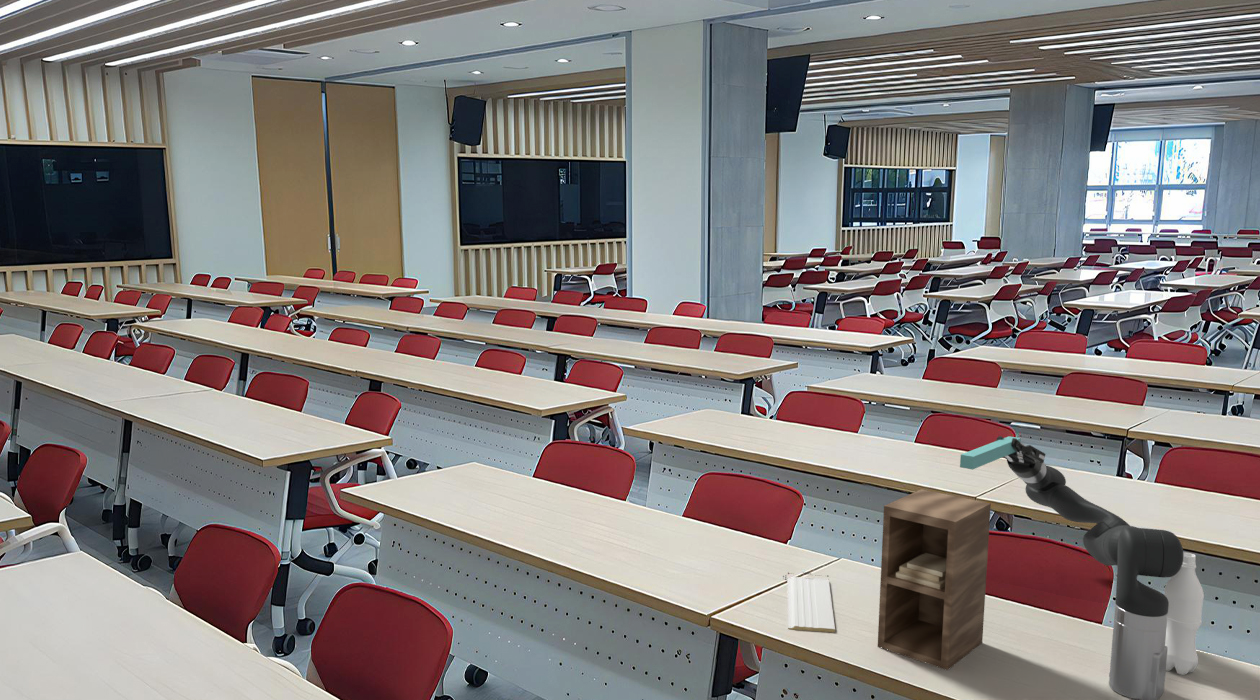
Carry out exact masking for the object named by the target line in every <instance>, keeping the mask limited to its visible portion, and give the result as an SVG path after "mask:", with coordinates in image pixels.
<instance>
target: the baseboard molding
mask: <svg viewBox="0 0 1260 700" xmlns="http://www.w3.org/2000/svg"><path fill="white" fill-rule="evenodd" d="M789 574H790V575H791V574H793V573H790V572H787V574H785V576H784V575H783V576H782V577H783V578H782V579H783V580H787V581H786V583H787V589H786V590H787V630H795V631H796V630H797V631H808V632H810V631H811V632H822V633H823V632H824V633H835V632H836V627H835V619H834V611H833V603H832V596H831V587H830V586H831V585H830V581H829V575H826V578H823V577H821V578H819V577H820V576H821V575H819V574H818V575H816V576H819V577H809V576H808V577H804V576H801V577H800V576H794V575H793V576H792V577H787V575H789ZM802 575H806V576H807V575H812V572H802ZM784 578H785V579H784Z"/></svg>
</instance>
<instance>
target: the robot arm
mask: <svg viewBox="0 0 1260 700" xmlns="http://www.w3.org/2000/svg"><path fill="white" fill-rule="evenodd" d="M1004 438H1005V437H1003V436H1001V435H998V437H996V439H995V440H994V442H995V441H998V440H1001V439H1004ZM1016 438H1017V437H1016ZM1016 438H1013V439H1012V444H1011V446H1012V448H1013V449H1014V450H1015V451H1016V452H1014V453H1012V454H1009V455H1007V456H1004V457H1003V458H1004V459H1005V460H1006V463H1007V466H1008V467H1009V468H1010V470H1011V471H1012V472H1013V473H1014V475H1016V476H1017V478H1019V480H1022V481H1023V482H1024V484H1025V488H1024V489H1025V494H1026V495H1027V497H1028V499H1029V500H1031V501H1032V502H1034V503H1035V504H1038V505H1040V506H1044V507H1047V508H1050V509H1052V510H1054V511H1055V512H1056V513H1057V514H1059V515H1060V516H1061V517H1062V518H1064V519H1066V520H1068V521H1071V522H1075V523H1085V524H1086V523H1088V524H1095V525H1094V526H1092V527H1091V528H1090V529H1089V530H1087V531H1086V532H1085V533H1084V535H1083V537H1082V543H1083V546H1084V548H1085V550H1086V551H1087V553H1088V554H1089V555H1090V556H1091V558H1093V559H1095V560H1096V561H1097V562H1098V563H1100V564H1102V565H1105V566H1107V567H1111V566H1117V567H1116V568H1117V570H1116V571H1117V572H1116V587H1115V601H1114V602H1115V604H1114V615H1113V627H1112V638H1111V639H1112V642H1111V653H1110V663H1109V664H1110V665H1109V667H1110V668H1109V674H1108V675H1109V676H1108V677H1109V678H1108V679H1109V680H1108V685H1109V687H1110V688H1111V689H1112V690H1113V691H1114V692H1115V693H1118V694H1120V695H1122V696H1124V697H1127V698H1131V699H1134V700H1158V699H1160V698H1161V695H1162V694H1163V693H1164V691H1165V683H1166V682H1165V681H1166V671H1167V670H1166V661H1167V649H1168V648H1167V646H1165V639H1166V627H1167V616H1168V606H1169V602H1168V599H1167V597H1166V596H1165V595H1164V594H1165V593H1162V592H1160V591H1159V590H1158V589H1155V588H1153V587H1150V586H1148V585H1146V584H1144V583H1142V582H1140V581H1139V580H1138V577H1139V576H1141V577H1153V578H1162V579H1163V578H1171V577H1172V576H1174V575H1176V574H1177V573H1178V572H1179V570H1180V569H1181V567H1182V564H1183V559H1184V553H1183V552H1184V549H1183V545H1182V543H1181V540H1180V539H1179V538H1178V536H1177V535H1176V534H1175V533H1173V532H1172V531H1169V530H1164V529H1156V528H1155V529H1154V528H1145V527H1137V526H1133V525H1130V524H1129V523H1128V522H1126V521H1125V520H1124V519H1123V518H1122V517H1120V516H1118V515H1117V514H1115V513H1113V512H1111V511H1109V510H1107V509H1105V508H1103V507H1101V506H1100V505H1097V504H1095V503H1093V502H1091V501H1089V500H1087V499H1085V498H1084V497H1083V496H1081V495H1080V494H1079V493H1078V492H1077V491H1075V490H1074V489H1073V488H1071V487H1069V486H1067V485H1066V484H1067V479H1066V477H1065V475H1064V474H1063V473H1062V472H1061V471H1060V470H1058V469H1057V468H1055V467H1052V466H1050V465H1046V463H1045V462H1044V461H1045V459H1046V453H1045V452H1043V451H1041V450H1040V449H1038V448H1036V447H1034V446H1032V445H1031V444H1028V445H1026V444H1025V443H1023V442H1021V443H1020V442H1019V441H1018V440H1017V439H1016Z"/></svg>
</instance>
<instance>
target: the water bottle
mask: <svg viewBox="0 0 1260 700" xmlns="http://www.w3.org/2000/svg"><path fill="white" fill-rule="evenodd" d="M1183 553H1184V559H1183V564H1182V567H1181V569H1180V570H1179V572H1178V573H1177V574H1176V575H1174V576H1172V577H1169V579H1168V581H1167V582H1166V584H1165V586H1164V589H1163V591H1164V593H1163V594H1164V595H1165V596H1166V597H1167V599H1168V602H1169V606H1168V616H1167V627H1166V639H1165V646H1167V648H1168V649H1167V661H1166V671H1167V672H1168V671H1169V672H1170V671H1172V669H1173V668H1175V671H1176V673H1177V674H1178V675H1187V674H1188V673H1193V672H1194V671H1195V670H1196V669H1197V666H1198V662H1199V656H1198V652H1197V649H1196V648H1197V647H1196V637H1197V633H1198V631H1199V630H1198V629H1199V628H1200V626H1201V625H1202V623H1203V621H1202V613H1203V604H1204V599H1205V593H1204V589H1203V587H1202V584H1201V583H1200V580H1199V577H1198V576H1197V573H1196V568H1197V565H1196V564H1197V562H1196V554H1194V553H1190V552H1184V551H1183Z"/></svg>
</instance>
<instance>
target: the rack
mask: <svg viewBox="0 0 1260 700" xmlns="http://www.w3.org/2000/svg"><path fill="white" fill-rule="evenodd" d="M991 504H992V503H990V502H986V501H981V500H976V499H970V498H966V497H961V496H957V495H953V494H946V493H942V492H937V491H932V490H926V489H923V488H921V489H919V490H917V491H914V492H912V493H910V494H907V495H905V496H903V497H901V498H898V499H896V500H895V501H892V502H889V503H888V504H885V505H883V521H882V538H881V543H882V544H881V561H880V562H881V565H880V586H879V587H880V588H879V607H878V610H879V611H878V632H877V648H880V647H882V648H881V649H883V648H884V649H883V650H886V649H888V650H887V651H889V650H890V651H889V652H893V653H895V654H899V655H902V656H904V657H907V658H910V659H913V660H917V661H919V662H922V663H925V662H926V663H925V664H929V665H931V666H934V667H937V666H938V667H937V668H939V667H940V669H942V668H943V669H944V670H945V669H946V671H948V670H949V668H950V669H951V668H952V667H953V666H955V665H956V664H957V663H959V662H960V661H961V660H962V659H964V658H965V657H966V656H968V654H970V653H971V652H972V651H974V650H975V649H976V648H977V647H979V646H981V645H982V644H983V636H984V635H983V633H984V621H985V620H984V619H985V618H984V617H985V606H986V603H985V602H986V588H987V585H986V584H987V572H988V571H987V570H988V556H989V537H990V522H991ZM954 664H955V665H954Z"/></svg>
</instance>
